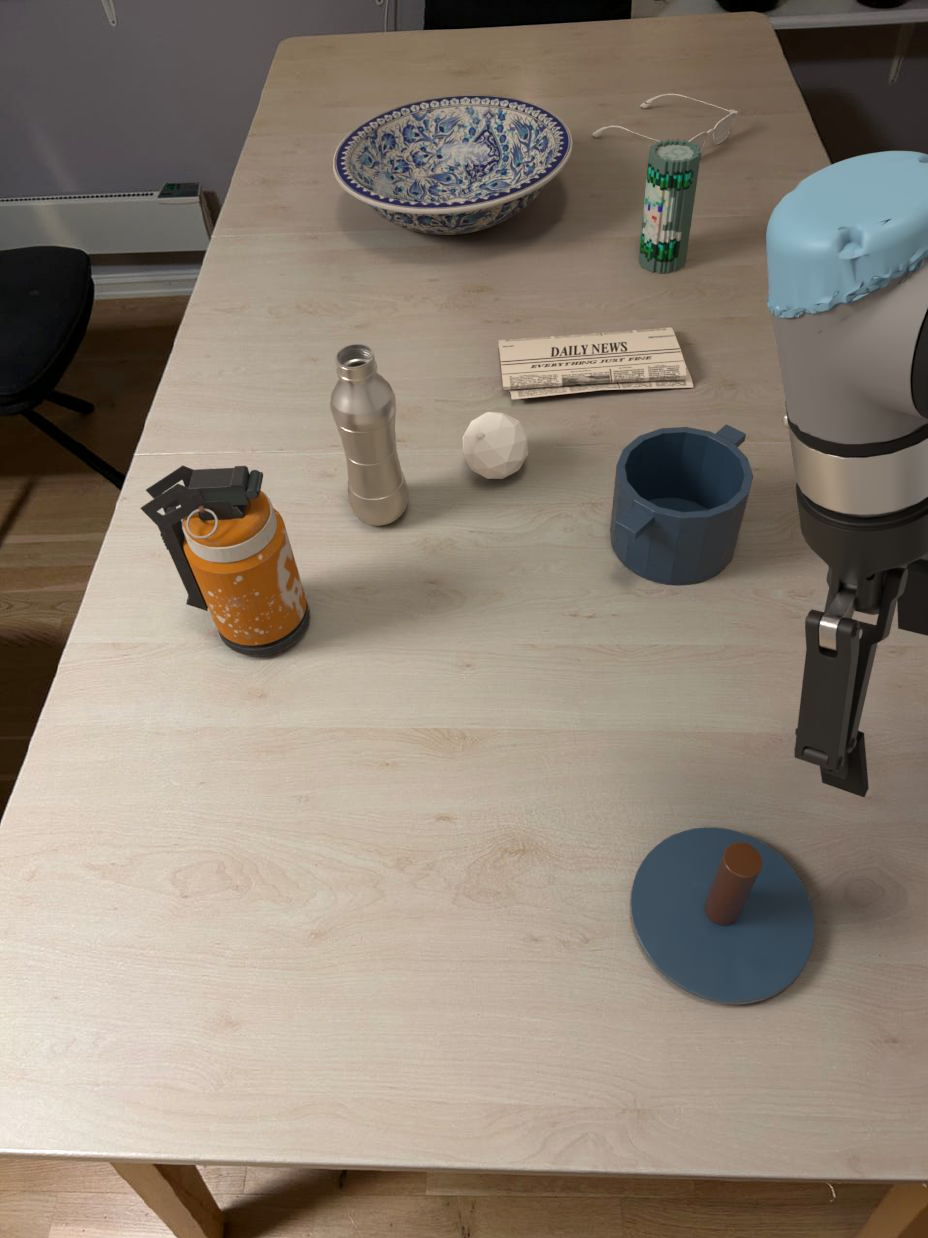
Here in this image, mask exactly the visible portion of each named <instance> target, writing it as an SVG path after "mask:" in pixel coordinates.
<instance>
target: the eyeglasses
mask: <svg viewBox="0 0 928 1238" xmlns="http://www.w3.org/2000/svg"><path fill="white" fill-rule="evenodd" d="M667 96H677V97H681V98H684V99H685V98H686V99H690V100H693V101H696V102H699V103H702V104H706V105H710V106H713V107H715V108H718V109H721V110H723V111H727V112H728V113H729V114H727V115H726V116H724V117H723V118H722V119H720V120H719V121H717V123H716V124H715V125H714V127H713V128H710V129H709V130H708V131H702V132H700V133H698V134H697V135H695V136H693V137H692V138H690V139H689V140H688V141H689V142H691V143H694V144H697V147H699V148H700V149H701V148H703V149H704V146H705V144H706V141H707V137H708V134H710V138H712V141H713V140H715V139H716V138H717V137H719V136H720V135H722V134H723V133H724V132H725V131H727V130H728V129H729V128H730V127H732V128H733V125H734V123H735V119H736V116H738V113H739V111H737V110H734V109H732V108H731V109H726V108H723V107H721V106H718V105H715V104H712V103H709V102H705V101H702V100H699V99H695V98H692V97H689V96H686V95H683V94H678V93H663V94H659V95H657V96H653V97H651V98H650V99H647V100H646V101H645V102H647V103H652V104H653V102H655V101H656V100H658V99H660V98H663V97H667ZM652 104H645V103H644V102H642V103H641V104H640V108H641V109H649V107H651V105H652ZM612 128H618V129H622V130H624V131H626V132H629V133H633V134H635V135H638V136H641V137H644V138H646V139H649V140H653V141H655V142H657V143H658V142H660V141H661V140H658V139H654V138H652V137H649V136H646V135H644V134H640V133H637V132H635V131H632V130H631V129H628V128H626V127H623V126H620V125H608V126H603V127H601V128H598V129H597V130H595V131H596V132H595V131H594V132H593V133H592V136H593V137H594V138H596V139H599V138H600V137H601V135H602V134H603V132H605V131H607V130H609V129H612ZM597 133H599V134H597ZM730 133H731V131H729V132H727V133H726V134H725V135H723V136H722V137H720V138H719V139H717V140H715V141H713V144H714V145H719V144H721V143H723V142H724V141H725V140H727V138H728V137H729V135H730ZM703 149H702V150H701V151H700V152H701V153H702V151H703Z"/></svg>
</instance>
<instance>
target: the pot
mask: <svg viewBox="0 0 928 1238" xmlns="http://www.w3.org/2000/svg"><path fill="white" fill-rule="evenodd" d="M746 438H747V433H745V432H743V431H741V430H739V429H737V428H735V427H733V426H731V425H729V424H725V425H723V426H722V427H721V428H720V429H719V430H717V431H716V433H714V432H713V431H709V430H705V429H699V428H696V427H689V426H678V427H674V426H673V427H660V428H657V429H654V430H652V431H649V432H646V433H643V434H640V435H638V436H637V437H636V438H635V439H633V440H632V441H631V442H629V443H628V444H627V445H626V446H625V447H623V449H622V451H621V453H620V455H619V458H618V461H617V463H616V465H615V466H616V467H615V477H614V486H613V497H612V508H611V517H610V528H609V532H610V543H611V547H612V550H613V552H614V555H616V557H617V559H618V561H620V562H621V564H623V566H625V567H626V568H627V569H628V570H630V572H631V573H633V574H635V575H637V576H639V577H641V578H642V579H646V580H648V581H650V582H654V583H658V584H663V585H669V586H670V585H671V586H685V585H693V584H698V583H701V582H705V581H707V580H709V579H711V578H713V577H715V576H716V575H718V574H720V573H721V572H722V571H723V570H724V569H726V567H727V566H728V565H729V563H730V562H731V561H732V559H733V557H734V553H735V549H736V546H737V543H738V538H739V536H740V535H739V534H740V530H741V527H742V523H743V519H744V515H745V511H746V506H747V503H748V499H749V496H750V491H751V488H752V483H753V479H754V474H753V470H752V467H751V464H750V460H749V458H748V456H747V455H745V453H744V452H743V451H742V450H741V449H740V448H739V447H740V446H741V445H743V444H744V442H745V441H746Z"/></svg>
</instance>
